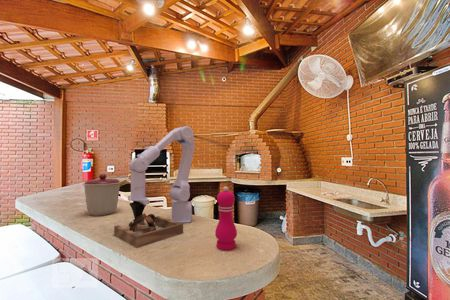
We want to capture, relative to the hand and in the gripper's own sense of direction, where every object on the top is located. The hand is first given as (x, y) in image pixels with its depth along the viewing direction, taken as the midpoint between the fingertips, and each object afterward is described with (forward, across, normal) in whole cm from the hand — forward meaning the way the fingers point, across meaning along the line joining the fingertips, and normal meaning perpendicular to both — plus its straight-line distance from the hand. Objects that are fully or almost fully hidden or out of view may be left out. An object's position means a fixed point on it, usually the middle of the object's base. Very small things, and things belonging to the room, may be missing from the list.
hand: (138, 219), depth 95 cm
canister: (+4, -40, 0) cm, 40 cm away
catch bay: (+4, +9, 0) cm, 10 cm away
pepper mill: (+4, +40, +11) cm, 41 cm away
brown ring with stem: (+4, +5, 0) cm, 7 cm away
